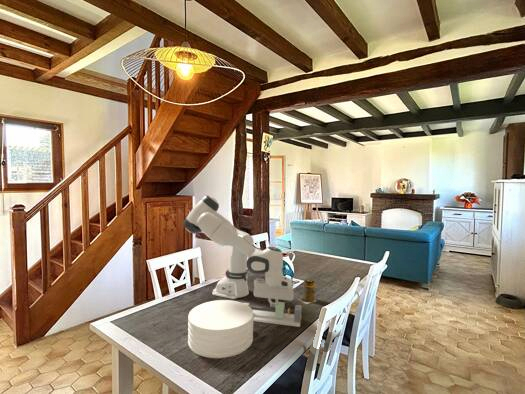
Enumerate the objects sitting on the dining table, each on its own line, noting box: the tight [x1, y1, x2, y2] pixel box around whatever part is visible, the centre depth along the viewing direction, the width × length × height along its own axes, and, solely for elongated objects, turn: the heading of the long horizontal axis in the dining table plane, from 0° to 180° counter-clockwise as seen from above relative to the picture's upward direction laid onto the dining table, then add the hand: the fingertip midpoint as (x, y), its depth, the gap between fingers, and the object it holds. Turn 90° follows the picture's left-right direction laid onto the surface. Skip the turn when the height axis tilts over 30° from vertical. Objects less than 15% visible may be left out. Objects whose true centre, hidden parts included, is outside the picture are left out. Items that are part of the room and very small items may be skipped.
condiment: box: [298, 278, 318, 305], centre depth 166 cm, size 7×8×12 cm
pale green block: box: [274, 301, 286, 319], centre depth 142 cm, size 4×4×6 cm
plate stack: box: [187, 299, 254, 359], centre depth 124 cm, size 28×28×12 cm
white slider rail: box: [243, 302, 302, 328], centre depth 143 cm, size 30×10×7 cm, turn 78°
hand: (273, 306), depth 142 cm, fingers closed
